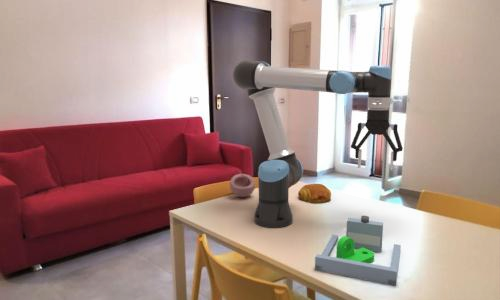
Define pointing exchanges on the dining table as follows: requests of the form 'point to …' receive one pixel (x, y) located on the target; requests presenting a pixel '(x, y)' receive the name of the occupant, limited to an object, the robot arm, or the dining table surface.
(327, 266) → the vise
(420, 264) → the dining table surface
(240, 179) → the pink round pot
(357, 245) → the slide jaw
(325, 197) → the croissant
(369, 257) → the mechanical part
